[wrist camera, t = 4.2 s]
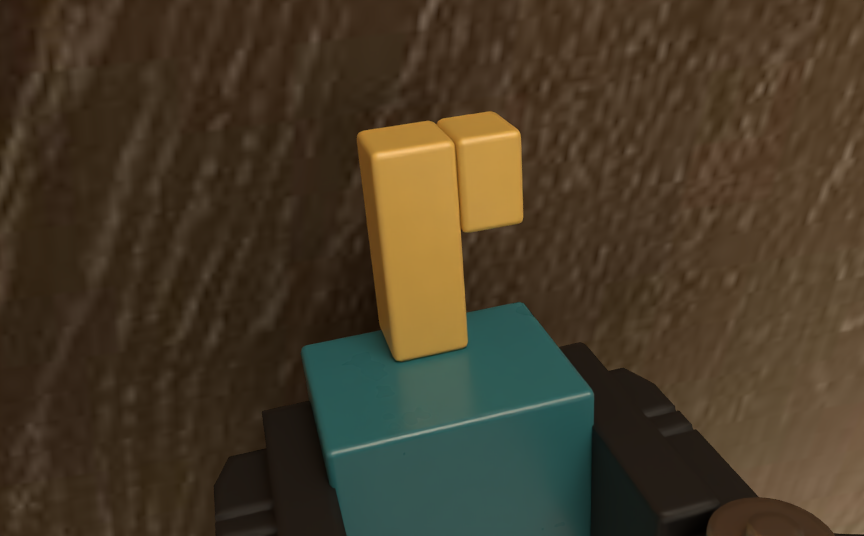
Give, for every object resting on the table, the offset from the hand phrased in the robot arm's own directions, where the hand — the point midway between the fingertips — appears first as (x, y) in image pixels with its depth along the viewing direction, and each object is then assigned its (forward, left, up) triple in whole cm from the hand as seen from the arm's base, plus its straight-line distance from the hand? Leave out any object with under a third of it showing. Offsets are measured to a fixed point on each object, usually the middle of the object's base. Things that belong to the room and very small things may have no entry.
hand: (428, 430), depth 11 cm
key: (-1, 0, 0) cm, 1 cm away
